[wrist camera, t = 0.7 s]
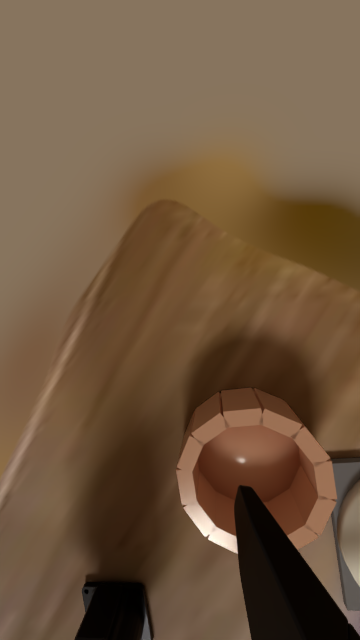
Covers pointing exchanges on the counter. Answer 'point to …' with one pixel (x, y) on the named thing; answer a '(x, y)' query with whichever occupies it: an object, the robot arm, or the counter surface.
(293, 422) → the bowl
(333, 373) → the counter surface
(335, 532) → the mat
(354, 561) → the lid
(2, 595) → the counter surface
